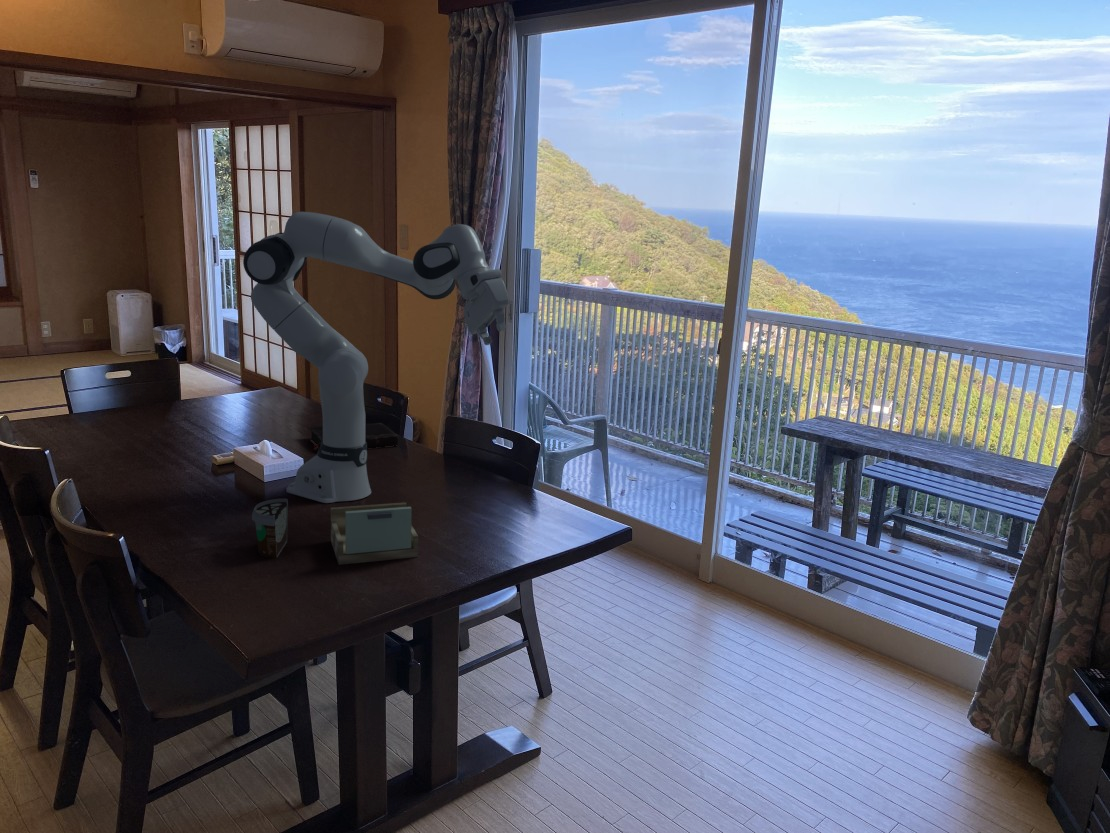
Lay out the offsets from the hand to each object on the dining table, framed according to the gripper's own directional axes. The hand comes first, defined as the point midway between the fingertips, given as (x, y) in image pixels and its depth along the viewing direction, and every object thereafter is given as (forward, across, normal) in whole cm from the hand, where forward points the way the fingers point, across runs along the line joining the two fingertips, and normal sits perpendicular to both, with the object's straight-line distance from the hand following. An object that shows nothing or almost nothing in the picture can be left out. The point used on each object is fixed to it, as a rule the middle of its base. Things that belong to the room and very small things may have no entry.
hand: (495, 337), depth 196 cm
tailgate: (+41, -4, -42) cm, 59 cm away
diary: (0, -90, -18) cm, 91 cm away
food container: (+32, -18, -62) cm, 72 cm away
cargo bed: (+39, -11, -41) cm, 58 cm away
